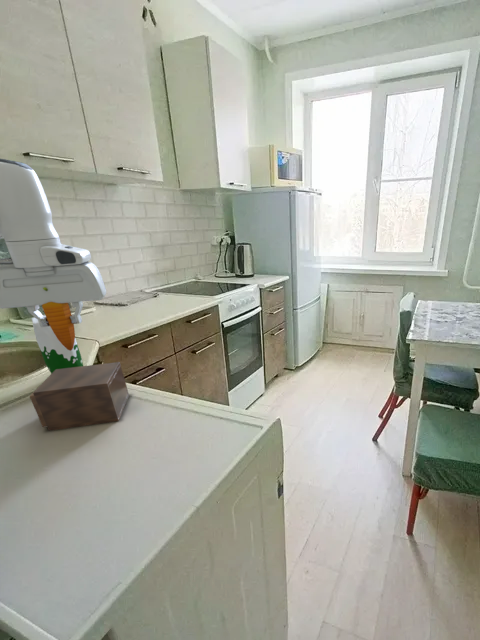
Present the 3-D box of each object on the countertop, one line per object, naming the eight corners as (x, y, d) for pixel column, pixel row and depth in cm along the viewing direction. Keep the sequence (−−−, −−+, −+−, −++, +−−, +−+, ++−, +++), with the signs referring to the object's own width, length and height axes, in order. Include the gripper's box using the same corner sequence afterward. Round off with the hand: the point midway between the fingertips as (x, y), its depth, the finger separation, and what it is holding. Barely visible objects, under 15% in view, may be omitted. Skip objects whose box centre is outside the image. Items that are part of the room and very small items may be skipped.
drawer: (36, 428, 77) (23, 396, 74) (56, 403, 87) (45, 375, 84) (107, 418, 80) (97, 387, 76) (118, 395, 90) (110, 367, 86)
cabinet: (48, 431, 78) (32, 392, 73) (68, 404, 89) (55, 369, 85) (118, 421, 80) (107, 383, 76) (129, 396, 91) (119, 361, 87)
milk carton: (89, 377, 103) (67, 309, 95) (54, 386, 99) (27, 316, 90) (84, 368, 110) (62, 304, 101) (50, 376, 105) (25, 310, 96)
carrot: (88, 348, 78) (65, 278, 72) (65, 355, 74) (40, 283, 68) (75, 345, 80) (52, 277, 74) (53, 352, 77) (27, 282, 70)
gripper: (-31, 261, 64) (0, 334, 70) (89, 253, 68) (108, 323, 74) (-12, 257, 70) (15, 325, 76) (97, 250, 73) (115, 315, 79)
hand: (62, 324), depth 75 cm, fingers closed on carrot, 5 cm apart
